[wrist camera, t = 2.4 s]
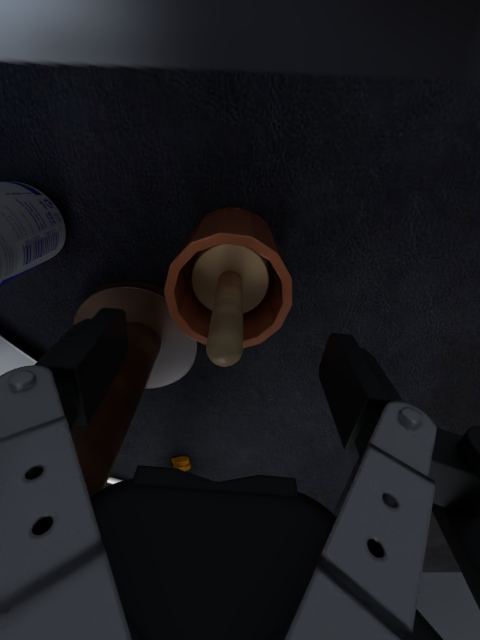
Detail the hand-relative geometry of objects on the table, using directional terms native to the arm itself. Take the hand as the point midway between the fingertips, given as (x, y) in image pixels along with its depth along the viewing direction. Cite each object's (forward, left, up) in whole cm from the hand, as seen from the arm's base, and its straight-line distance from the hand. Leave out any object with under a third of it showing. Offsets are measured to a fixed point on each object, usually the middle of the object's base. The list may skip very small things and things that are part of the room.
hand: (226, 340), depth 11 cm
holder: (0, 0, -11) cm, 11 cm away
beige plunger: (0, 0, -11) cm, 11 cm away
